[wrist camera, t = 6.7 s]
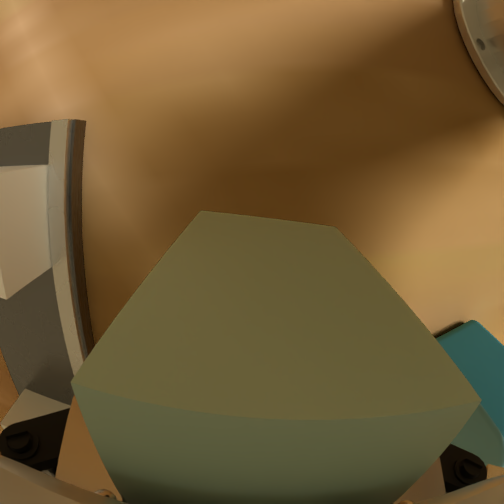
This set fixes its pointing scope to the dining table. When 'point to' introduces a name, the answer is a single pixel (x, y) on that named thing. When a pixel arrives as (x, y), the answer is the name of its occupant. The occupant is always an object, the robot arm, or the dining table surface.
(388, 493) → the module block
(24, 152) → the rail plate
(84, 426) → the robot arm
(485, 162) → the dining table surface
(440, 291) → the dining table surface
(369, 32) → the dining table surface
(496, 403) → the data package
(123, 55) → the dining table surface
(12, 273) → the mounted modules
